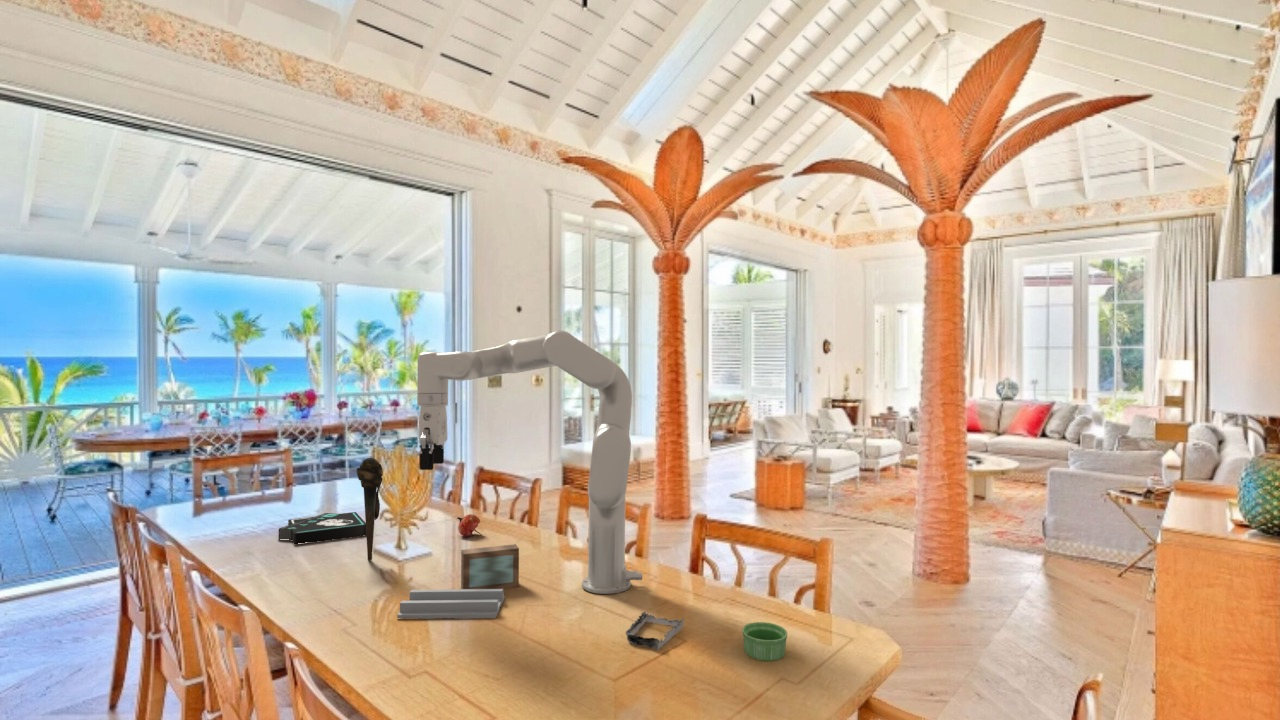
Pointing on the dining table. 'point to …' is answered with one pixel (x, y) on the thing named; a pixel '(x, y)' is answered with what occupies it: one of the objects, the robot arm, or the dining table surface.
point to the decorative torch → (370, 496)
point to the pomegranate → (468, 525)
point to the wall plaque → (323, 527)
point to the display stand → (452, 604)
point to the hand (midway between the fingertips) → (432, 466)
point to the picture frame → (490, 567)
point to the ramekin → (764, 641)
